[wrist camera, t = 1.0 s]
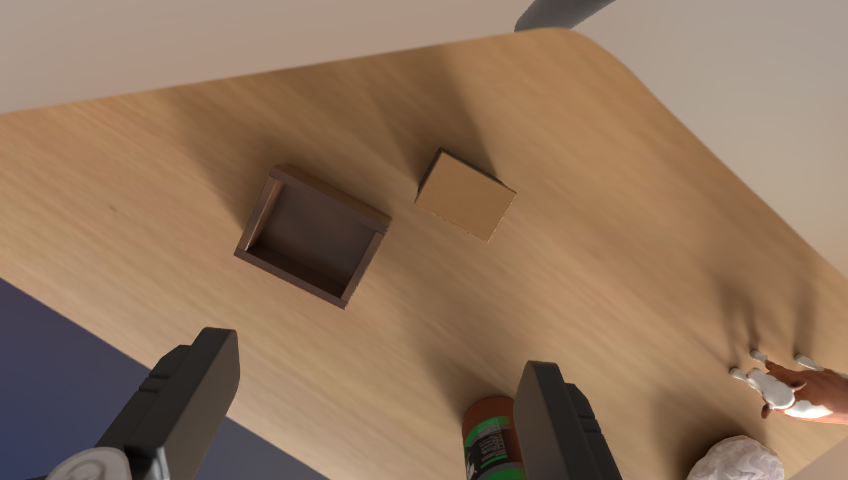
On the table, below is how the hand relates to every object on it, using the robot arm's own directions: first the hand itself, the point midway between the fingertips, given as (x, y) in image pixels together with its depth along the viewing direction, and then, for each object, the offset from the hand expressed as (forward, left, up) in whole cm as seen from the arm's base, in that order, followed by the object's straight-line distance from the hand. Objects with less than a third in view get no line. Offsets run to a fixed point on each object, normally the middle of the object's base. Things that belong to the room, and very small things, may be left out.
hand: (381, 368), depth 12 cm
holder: (+7, -6, -28) cm, 30 cm away
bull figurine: (-2, +39, -28) cm, 48 cm away
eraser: (-3, +3, -28) cm, 28 cm away
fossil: (+11, +43, -28) cm, 53 cm away
